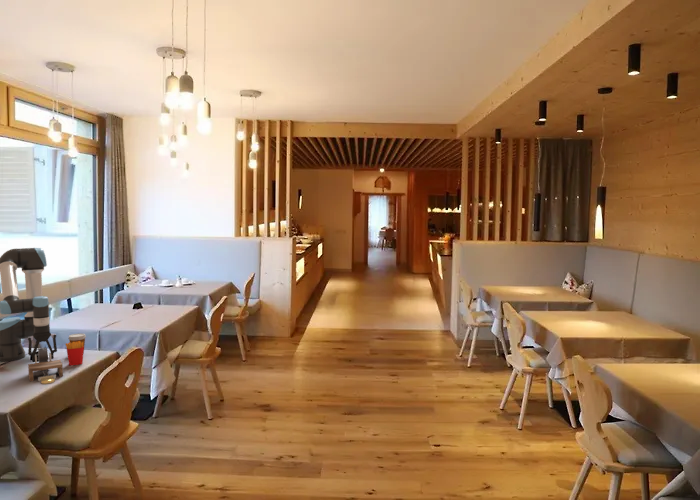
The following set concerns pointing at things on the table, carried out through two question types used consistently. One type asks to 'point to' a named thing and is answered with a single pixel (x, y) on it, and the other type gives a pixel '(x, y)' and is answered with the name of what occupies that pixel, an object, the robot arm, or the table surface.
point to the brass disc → (47, 380)
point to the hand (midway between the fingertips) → (43, 365)
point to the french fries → (75, 353)
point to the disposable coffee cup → (77, 338)
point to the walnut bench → (45, 367)
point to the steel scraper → (44, 358)
